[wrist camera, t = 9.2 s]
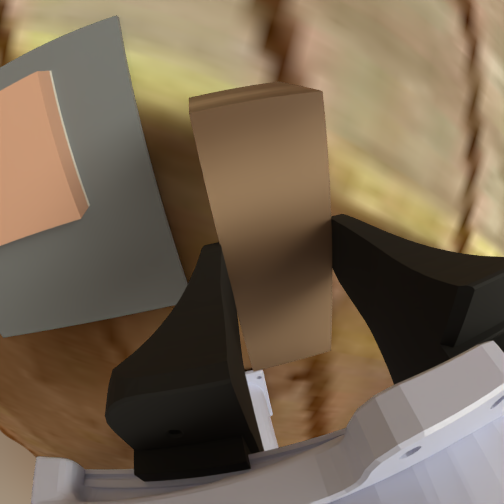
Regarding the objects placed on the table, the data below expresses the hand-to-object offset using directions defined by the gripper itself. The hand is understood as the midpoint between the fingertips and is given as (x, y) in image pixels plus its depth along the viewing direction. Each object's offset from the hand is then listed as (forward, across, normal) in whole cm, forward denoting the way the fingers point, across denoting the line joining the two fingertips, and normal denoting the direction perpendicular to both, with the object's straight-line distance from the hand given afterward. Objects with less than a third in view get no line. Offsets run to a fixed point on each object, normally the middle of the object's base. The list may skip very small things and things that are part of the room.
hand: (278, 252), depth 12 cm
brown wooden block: (+5, 0, 0) cm, 5 cm away
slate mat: (+9, +15, -2) cm, 18 cm away
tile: (+8, +15, -1) cm, 17 cm away
